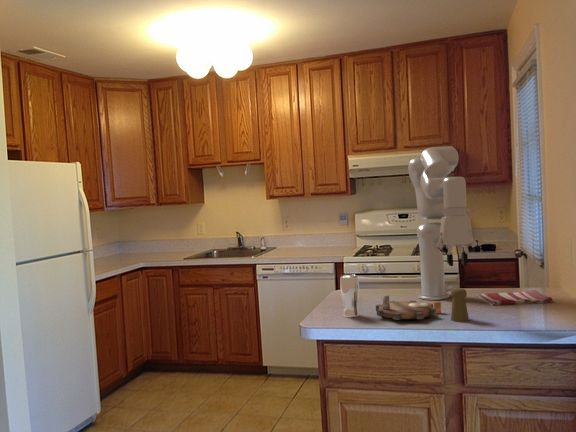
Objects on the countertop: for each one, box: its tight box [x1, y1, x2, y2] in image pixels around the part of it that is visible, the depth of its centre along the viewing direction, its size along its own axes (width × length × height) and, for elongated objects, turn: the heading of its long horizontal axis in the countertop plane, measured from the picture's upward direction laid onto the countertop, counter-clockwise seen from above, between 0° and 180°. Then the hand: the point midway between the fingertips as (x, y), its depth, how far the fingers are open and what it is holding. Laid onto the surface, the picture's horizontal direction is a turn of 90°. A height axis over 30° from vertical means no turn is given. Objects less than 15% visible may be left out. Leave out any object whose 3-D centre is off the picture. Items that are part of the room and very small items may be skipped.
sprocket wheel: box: [375, 294, 437, 321], centre depth 183 cm, size 22×22×7 cm
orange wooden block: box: [399, 301, 442, 321], centre depth 184 cm, size 19×12×4 cm, turn 112°
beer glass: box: [339, 274, 360, 318], centre depth 187 cm, size 7×7×15 cm
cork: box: [450, 287, 470, 323], centre depth 173 cm, size 6×6×11 cm
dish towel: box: [477, 290, 554, 306], centre depth 199 cm, size 17×23×3 cm
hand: (457, 264), depth 173 cm, fingers open, 3 cm apart
